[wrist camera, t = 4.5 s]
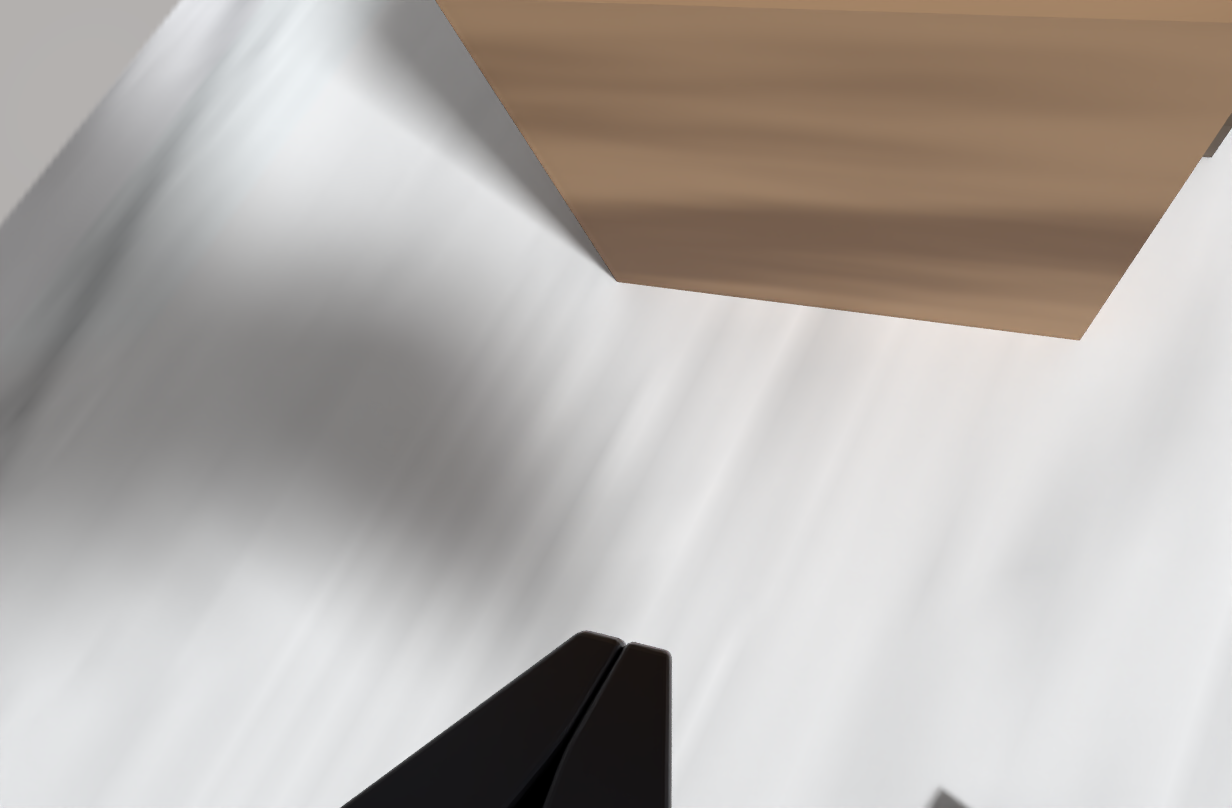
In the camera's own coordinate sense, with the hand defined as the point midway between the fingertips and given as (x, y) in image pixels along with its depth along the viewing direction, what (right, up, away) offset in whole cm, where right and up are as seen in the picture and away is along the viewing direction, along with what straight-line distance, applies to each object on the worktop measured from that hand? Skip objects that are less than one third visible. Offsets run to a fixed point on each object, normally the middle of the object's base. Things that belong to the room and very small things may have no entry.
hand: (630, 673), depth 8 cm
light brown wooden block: (+5, +6, +12) cm, 15 cm away
